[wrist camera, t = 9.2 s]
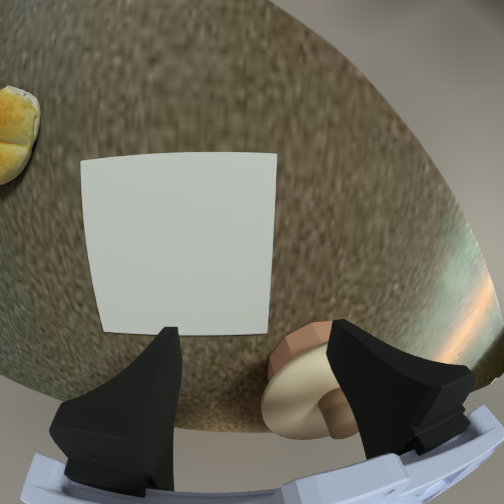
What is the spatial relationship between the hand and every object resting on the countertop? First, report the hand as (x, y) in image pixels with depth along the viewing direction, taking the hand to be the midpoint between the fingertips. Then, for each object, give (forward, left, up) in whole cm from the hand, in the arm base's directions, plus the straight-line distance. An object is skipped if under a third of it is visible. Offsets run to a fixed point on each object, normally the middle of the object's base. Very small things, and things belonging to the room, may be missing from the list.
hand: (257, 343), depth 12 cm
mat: (+1, +5, -10) cm, 12 cm away
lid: (-11, -8, -5) cm, 14 cm away
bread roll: (+12, +21, -11) cm, 27 cm away
